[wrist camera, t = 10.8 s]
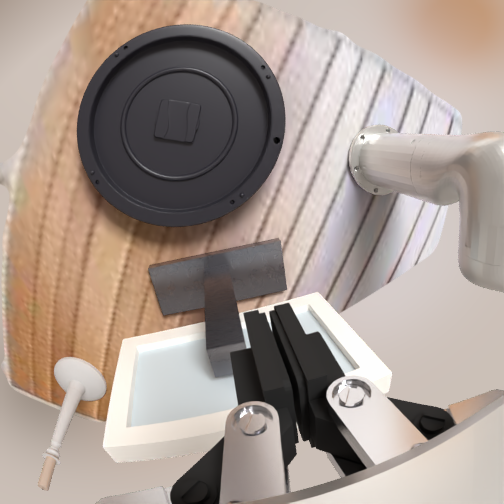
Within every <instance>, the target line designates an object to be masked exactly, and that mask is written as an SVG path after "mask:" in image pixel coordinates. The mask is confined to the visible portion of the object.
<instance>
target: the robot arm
mask: <svg viewBox="0 0 504 504" xmlns="http://www.w3.org/2000/svg"><path fill="white" fill-rule="evenodd" d="M360 136H361V138H360ZM349 166H350V171H351V173H352V176H353V178H354V180H355V181H356V183H357V184H358V185H359V186H360V187H361V188H362V189H364V190H365V191H367V192H369V193H371V194H374V195H387V194H390V193H392V192H394V191H395V192H398V193H401V194H404V195H407V196H410V197H414V198H417V199H420V200H423V201H426V202H429V203H432V204H435V205H441V206H445V205H450V204H453V203H456V202H458V201H459V211H460V225H459V250H458V261H459V267H460V270H461V272H462V274H463V275H464V277H465V278H466V279H467V280H469V281H470V282H472V283H473V284H475V285H478V286H480V287H483V288H487V289H491V290H495V291H500V292H504V132H483V133H476V134H467V135H435V134H406V133H398V132H397V131H396V130H394V129H392V128H391V127H388V126H385V125H371V126H368V127H366V128H364V129H362V130H361V131H360V132H359V133H358V134H357V135H356V137H355V138H354V140H353V142H352V144H351V147H350V150H349ZM354 167H355V169H354ZM243 314H244V319H245V324H246V328H247V333H248V338H249V342H250V347H251V348H247V349H243V350H238V351H233V352H230V357H231V364H232V370H233V377H234V383H235V389H236V396H237V402H238V406H237V407H235V408H234V409H233V410H232V411H231V412H230V413H229V415H228V416H227V419H226V423H225V436H224V437H223V438H222V439H221V440H220V441H219V442H218V443H217V444H216V445H215V446H214V447H213V448H212V449H211V450H210V451H209V452H208V453H206V454H205V456H203V457H202V458H201V459H200V460H199V461H198V462H197V463H196V464H195V465H194V466H193V467H192V468H191V469H190V470H188V471H187V472H186V473H185V474H184V475H183V476H182V477H181V478H180V479H179V480H177V482H176V483H175V484H174V485H173V486H172V487H168V488H163V487H162V486H160V487H156V488H152V489H147V490H143V491H138V492H132V493H127V494H122V495H115V496H109V497H105V498H102V499H100V500H99V501H98V502H97V503H96V504H504V391H503V390H498V389H496V390H491V391H489V392H486V393H483V394H481V395H478V396H475V397H472V398H470V399H467V400H464V401H461V402H458V403H455V404H451V405H449V406H448V407H447V409H441V408H438V407H433V406H428V405H422V404H417V403H412V402H407V401H402V400H398V399H393V398H388V397H386V396H385V395H384V394H383V393H382V392H381V391H380V390H379V389H378V388H377V387H376V386H375V384H374V383H373V382H371V381H370V380H369V379H367V378H364V377H362V376H355V375H353V376H345V374H344V372H343V370H342V369H341V367H340V365H339V364H338V362H337V360H336V359H335V357H334V355H333V354H332V352H331V350H330V349H329V347H328V345H327V344H326V342H325V340H324V339H323V337H322V335H321V334H320V332H318V331H317V332H313V333H310V334H306V333H305V331H304V330H303V328H302V326H301V324H300V322H299V320H298V318H297V316H296V315H295V313H294V311H293V309H292V307H291V305H290V303H285V304H281V305H276V306H274V310H272V311H269V315H270V321H271V327H272V330H271V328H270V325H269V322H268V320H267V317H266V314H265V312H263V313H259V311H258V310H254V311H249V312H245V313H243ZM296 422H297V424H296ZM297 425H298V428H299V431H300V434H301V437H302V439H303V441H307V440H309V442H310V444H311V447H312V448H313V447H316V449H319V450H322V451H325V452H326V454H327V456H328V458H329V460H330V461H331V463H332V465H333V466H334V468H335V469H336V471H337V472H338V474H339V475H340V477H341V478H340V479H337V480H334V481H331V482H327V483H324V484H321V485H318V486H314V487H311V488H307V489H303V490H300V491H296V492H290V481H289V470H288V465H289V464H290V462H291V461H292V460H293V458H294V457H295V456H296V454H297V453H296V446H295V444H296V443H298V442H299V441H298V433H297Z"/></svg>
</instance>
